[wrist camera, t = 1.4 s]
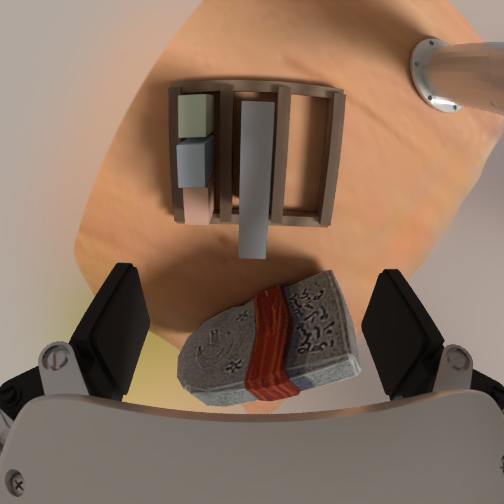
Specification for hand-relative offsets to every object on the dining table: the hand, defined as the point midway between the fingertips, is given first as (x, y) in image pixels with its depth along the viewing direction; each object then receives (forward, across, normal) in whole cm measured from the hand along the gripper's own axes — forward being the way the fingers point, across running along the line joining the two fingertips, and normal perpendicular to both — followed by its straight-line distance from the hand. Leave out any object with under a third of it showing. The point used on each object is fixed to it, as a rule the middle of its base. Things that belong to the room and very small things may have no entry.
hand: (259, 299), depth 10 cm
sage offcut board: (+30, +7, -6) cm, 31 cm away
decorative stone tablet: (+30, -2, +27) cm, 41 cm away
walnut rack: (+30, 0, 0) cm, 30 cm away
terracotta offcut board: (+30, +7, +6) cm, 31 cm away
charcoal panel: (+30, 0, 0) cm, 30 cm away
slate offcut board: (+30, +7, 0) cm, 31 cm away
